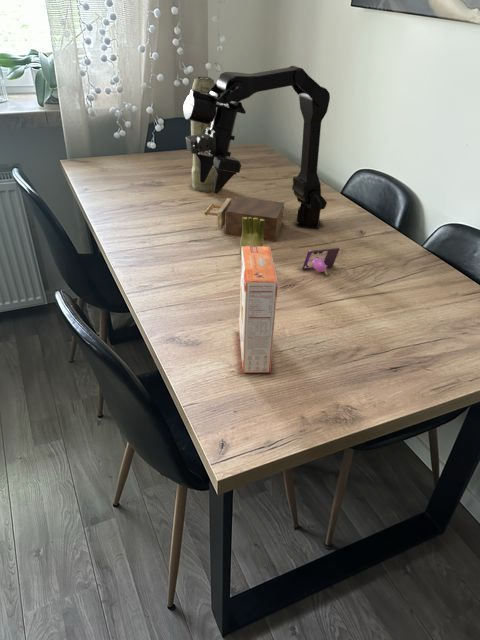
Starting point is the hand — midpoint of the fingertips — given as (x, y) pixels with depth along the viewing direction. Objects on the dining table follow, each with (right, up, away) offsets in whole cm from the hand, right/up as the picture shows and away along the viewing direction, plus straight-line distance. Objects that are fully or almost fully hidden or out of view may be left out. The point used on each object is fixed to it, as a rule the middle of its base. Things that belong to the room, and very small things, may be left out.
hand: (208, 187), depth 137 cm
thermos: (-6, +14, +44) cm, 47 cm away
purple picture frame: (+30, -23, -2) cm, 38 cm away
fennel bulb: (+11, -19, +1) cm, 22 cm away
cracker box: (+13, -45, -32) cm, 56 cm away
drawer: (+7, -5, +18) cm, 20 cm away
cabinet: (+12, -7, +18) cm, 23 cm away
